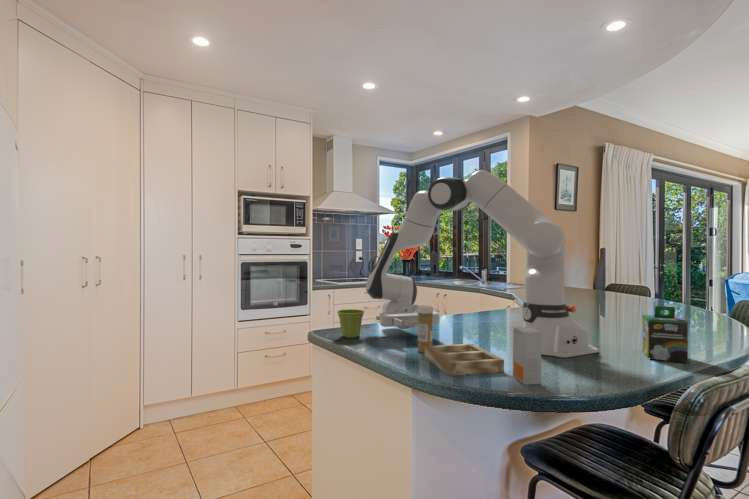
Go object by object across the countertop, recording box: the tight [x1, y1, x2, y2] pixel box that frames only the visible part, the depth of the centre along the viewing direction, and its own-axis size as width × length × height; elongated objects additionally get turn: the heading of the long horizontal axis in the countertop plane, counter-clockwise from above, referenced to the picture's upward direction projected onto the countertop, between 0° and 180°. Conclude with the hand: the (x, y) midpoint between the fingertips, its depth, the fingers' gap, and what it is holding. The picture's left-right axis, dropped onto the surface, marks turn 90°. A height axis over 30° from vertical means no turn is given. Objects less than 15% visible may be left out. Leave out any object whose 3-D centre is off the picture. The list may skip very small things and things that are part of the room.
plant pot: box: [336, 308, 365, 339], centre depth 135 cm, size 9×9×9 cm
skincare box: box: [512, 326, 542, 386], centre depth 92 cm, size 6×4×12 cm
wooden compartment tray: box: [424, 343, 505, 377], centre depth 104 cm, size 15×17×3 cm
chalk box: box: [641, 305, 689, 364], centre depth 111 cm, size 9×9×15 cm
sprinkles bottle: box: [417, 304, 434, 354], centre depth 116 cm, size 5×5×14 cm
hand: (416, 323), depth 124 cm, fingers open, 8 cm apart
